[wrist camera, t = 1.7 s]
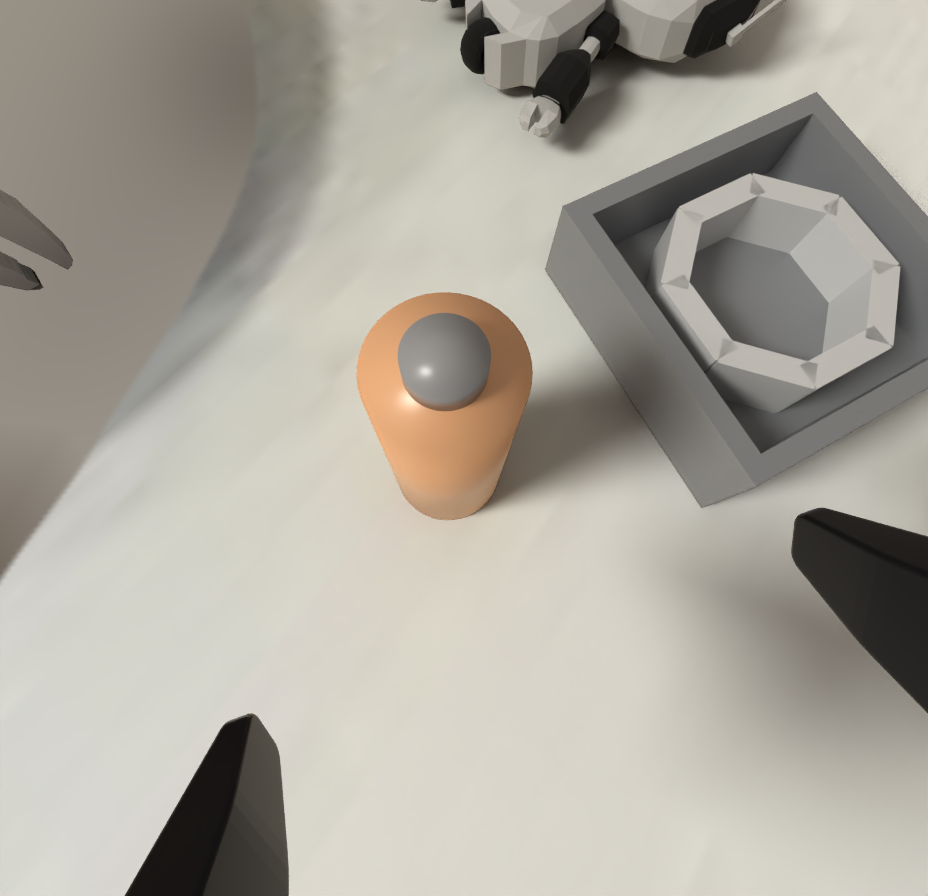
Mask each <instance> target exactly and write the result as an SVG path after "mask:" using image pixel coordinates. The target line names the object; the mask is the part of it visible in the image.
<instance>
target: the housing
mask: <svg viewBox="0 0 928 896" xmlns="http://www.w3.org/2000/svg"><path fill="white" fill-rule="evenodd" d="M545 270H546V272H547V273H548V275H549V276H550V278H551V280H552V281H553V283H554V284H555V286H556V287H557V289H558V290H559V292H560V293H561V295H562V296H563V298H564V299H565V301H566V302H567V304H568V305H569V307H570V308H571V310H572V312H573V313H574V315H575V316H576V318H577V319H578V321H579V322H580V324H581V325H582V327H583V328H584V330H585V331H586V333H587V334H588V336H589V337H590V339H591V340H592V342H593V343H594V345H595V347H596V348H597V350H598V351H599V353H600V354H601V356H602V357H603V359H604V360H605V362H606V363H607V365H608V366H609V368H610V369H611V371H612V372H613V374H614V375H615V377H616V379H617V380H618V382H619V383H620V385H621V386H622V388H623V389H624V391H625V392H626V394H627V395H628V397H629V398H630V400H631V401H632V403H633V404H634V406H635V407H636V409H637V410H638V412H639V414H640V415H641V417H642V418H643V420H644V421H645V423H646V424H647V426H648V427H649V429H650V430H651V432H652V433H653V435H654V436H655V438H656V439H657V441H658V442H659V444H660V446H661V447H662V449H663V450H664V452H665V453H666V455H667V456H668V458H669V459H670V461H671V462H672V464H673V465H674V467H675V468H676V470H677V471H678V473H679V474H680V476H681V478H682V479H683V481H684V482H685V484H686V485H687V487H688V488H689V490H690V491H691V493H692V494H693V496H694V497H695V499H696V500H697V502H698V503H699V505H700V506H701V508H702V507H705V506H708V505H710V504H713V503H715V502H718V501H720V500H723V499H725V498H728V497H731V496H733V495H736V494H738V493H741V492H743V491H746V490H748V489H751V488H754V487H756V486H758V485H760V484H761V483H763V482H765V481H767V480H768V479H770V478H772V477H773V476H775V475H777V474H779V473H780V472H782V471H784V470H786V469H787V468H789V467H791V466H793V465H794V464H796V463H798V462H800V461H801V460H803V459H805V458H807V457H808V456H810V455H812V454H813V453H815V452H817V451H819V450H820V449H822V448H824V447H826V446H827V445H829V444H831V443H833V442H834V441H836V440H838V439H840V438H841V437H843V436H845V435H847V434H848V433H850V432H852V431H853V430H855V429H857V428H859V427H860V426H862V425H864V424H866V423H867V422H869V421H871V420H873V419H874V418H876V417H878V416H880V415H881V414H883V413H885V412H887V411H888V410H890V409H892V408H893V407H895V406H897V405H899V404H900V403H902V402H904V401H906V400H907V399H909V398H911V397H913V396H914V395H916V394H918V393H920V392H921V391H923V390H925V389H927V388H928V216H927V215H926V214H925V213H924V212H923V211H922V210H921V209H920V207H919V206H918V205H917V204H916V203H915V202H914V201H913V200H912V198H911V197H910V196H909V195H908V194H907V193H906V192H905V191H904V189H903V188H902V187H901V186H900V185H899V184H898V183H897V182H896V181H895V179H894V178H893V177H892V176H891V175H890V174H889V173H888V172H887V170H886V169H885V168H884V167H883V166H882V165H881V164H880V163H879V161H878V160H877V159H876V158H875V157H874V156H873V155H872V154H871V152H870V151H869V150H868V149H867V148H866V147H865V146H864V145H863V144H862V142H861V141H860V140H859V139H858V138H857V137H856V136H855V135H854V133H853V132H852V131H851V130H850V129H849V128H848V127H847V126H846V124H845V123H844V122H843V121H842V120H841V119H840V118H839V117H838V115H837V114H836V113H835V112H834V111H833V110H832V109H831V108H830V107H829V105H828V104H827V103H826V102H825V101H824V100H823V99H822V98H821V96H820V95H819V94H818V93H817V92H816V93H813V94H811V95H809V96H807V97H804V98H802V99H800V100H798V101H796V102H793V103H791V104H789V105H787V106H784V107H782V108H780V109H778V110H776V111H773V112H771V113H769V114H767V115H764V116H762V117H760V118H758V119H756V120H753V121H751V122H749V123H747V124H744V125H742V126H740V127H738V128H736V129H733V130H731V131H729V132H727V133H724V134H722V135H720V136H718V137H716V138H713V139H711V140H709V141H707V142H704V143H702V144H700V145H698V146H696V147H693V148H691V149H689V150H687V151H684V152H682V153H680V154H678V155H676V156H673V157H671V158H669V159H667V160H664V161H662V162H660V163H658V164H656V165H653V166H651V167H649V168H647V169H645V170H642V171H640V172H638V173H636V174H633V175H631V176H629V177H627V178H625V179H622V180H620V181H618V182H616V183H613V184H611V185H609V186H607V187H605V188H602V189H600V190H598V191H596V192H593V193H591V194H589V195H587V196H585V197H582V198H580V199H578V200H576V201H573V202H571V203H569V204H567V205H565V206H563V207H562V211H561V214H560V218H559V222H558V225H557V229H556V232H555V236H554V239H553V243H552V247H551V250H550V254H549V257H548V261H547V264H546V268H545Z"/></svg>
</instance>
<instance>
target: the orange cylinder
mask: <svg viewBox="0 0 928 896" xmlns="http://www.w3.org/2000/svg"><path fill="white" fill-rule="evenodd" d="M532 374H533V372H532V361H531V357H530V352H529V350H528V347H527V344H526V342H525V340H524V338H523V336H522V334H521V333H520V331H519V330H518V328H517V327H516V326H515V324H514V323H513V322H512V321H511V320H510V319H509V318H508V317H507V316H506V315H505V314H503V313H502V312H501V311H500V310H499V309H497V308H495V307H494V306H492V305H491V304H489V303H487V302H485V301H483V300H480V299H478V298H475V297H472V296H468V295H464V294H459V293H432V294H425V295H421V296H418V297H414V298H412V299H409V300H407V301H404V302H403V303H401V304H399V305H397V306H395V307H394V308H392V309H391V310H390V311H388V312H387V313H386V314H385V315H383V316H382V317H381V318H380V319H379V320H378V321H377V323H376V324H375V325H374V326H373V327H372V329H371V330H370V332H369V333H368V335H367V336H366V338H365V341H364V343H363V345H362V347H361V350H360V354H359V357H358V363H357V384H358V390H359V393H360V397H361V400H362V402H363V405H364V407H365V409H366V411H367V414H368V416H369V418H370V421H371V423H372V425H373V427H374V430H375V432H376V434H377V436H378V439H379V441H380V443H381V445H382V448H383V450H384V452H385V455H386V457H387V459H388V461H389V464H390V466H391V468H392V470H393V473H394V475H395V477H396V479H397V482H398V484H399V486H400V489H401V491H402V493H403V495H404V496H405V498H406V499H407V501H408V502H409V503H410V504H411V505H412V506H413V507H414V508H415V509H416V510H418V511H419V512H421V513H423V514H424V515H426V516H429V517H432V518H435V519H440V520H455V519H460V518H464V517H467V516H469V515H471V514H473V513H475V512H476V511H478V510H479V509H480V508H482V507H483V506H484V505H485V504H486V503H487V502H488V500H489V499H490V497H491V496H492V494H493V492H494V490H495V488H496V485H497V482H498V479H499V477H500V474H501V471H502V468H503V466H504V463H505V460H506V458H507V455H508V452H509V449H510V447H511V444H512V441H513V438H514V436H515V433H516V430H517V427H518V425H519V422H520V419H521V417H522V414H523V411H524V408H525V406H526V403H527V400H528V397H529V395H530V390H531V385H532Z"/></svg>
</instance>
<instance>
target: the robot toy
mask: <svg viewBox="0 0 928 896" xmlns="http://www.w3.org/2000/svg"><path fill="white" fill-rule="evenodd" d="M421 1H428V2H436V1H437V0H421ZM785 1H786V0H774V1H773V2H772V3H771V4H769V5H768V6H767V7H765V8H764V9H763V10H761V11H760V12H759V13H758V14H756V15H755V16H754V17H753V15H754V13H755V11H756V9H757V7H758V5H759V3H760V0H451V6H452V8H456V7H464V6H465V9H466V31H465V33H464V36H463V38H462V41H461V48H460V51H461V55H462V59H463V62H464V64H465V65H466V66H467V67H468V68H469V69H470V70H471V71H472V72H474V73H477V74H485V83H486V84H488V85H490V86H492V87H495V88H497V89H499V90H502V89H507V88H512V87H517V86H522V85H524V86H530V87H531V88H533V89H534V91H533V99H531V100H528V101H527V102H526V103H525V105H524V106H523V108H522V111H521V113H520V116H519V121H520V124H521V126H522V128H523V129H524V130H526V131H529V129H530V128H531V127H532V125H533V124H534V123H535V122H538V123H537V124H536V126H535V132H534V135H536V136H538V137H544V138H546V137H547V136H548V135H550V134H551V133H552V132H553V131H554V130H555V129H556V128H557V127H558V126H559V125H560V123H563V124H564V123H565V121H566V120H567V118H568V117H569V116H570V114H571V113H572V111H573V110H574V109H575V107H576V106H577V104H578V103H579V102H580V100H581V99H582V97H583V95H584V93H585V91H586V89H587V87H588V85H589V79H590V70H591V62H592V61H593V59H600V60H603V59H604V58H605V57H606V55H607V54H608V52H609V51H610V50H611V48H612V47H613V46H614V44H615V43H617V44H618V45H620V46H622V47H624V48H625V49H627V50H629V51H630V52H632V53H634V54H636V55H638V56H640V57H642V58H645V59H651V60H658V61H665V62H671V63H675V62H677V61H679V60H681V59H683V58H684V57H686V56H690V57H692V58H696V57H698V56H700V55H703V54H705V53H707V52H710V51H713V50H715V49H717V48H719V47H721V46H723V45H724V44H726V43H727V44H728V45H729V47H732V46H733V45H734V44H736V43H737V42H738V41H739V40H741V39H742V38H743V34H744V33H745V32H746V31H747V30H748V29H750V28H751V27H752V26H754V25H755V24H756V23H758V22H759V21H760V20H761V19H763V18H764V17H765V16H767V15H768V14H769V13H771V12H772V11H773V10H774V9H776V8H777V7H778V6H780V5H781V4H782V3H783V2H785Z"/></svg>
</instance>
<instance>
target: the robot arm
mask: <svg viewBox="0 0 928 896" xmlns="http://www.w3.org/2000/svg"><path fill="white" fill-rule="evenodd" d="M791 553H792V558H793V560H794V562H795V564H796V566H797V567H798V568H799V570H800V571H801V572H802V573H803V575H804V576H805V577H806V578H807V580H808V581H809V582H810V583H811V584H812V586H813V587H814V588H815V589H816V591H817V592H818V593H819V594H820V596H821V597H822V598H823V599H824V600H825V602H826V603H827V604H828V605H829V607H830V608H831V609H832V610H833V612H834V613H835V614H836V615H837V616H838V618H839V619H840V620H841V621H842V623H843V624H844V625H845V626H846V628H847V629H848V630H849V631H850V632H851V634H852V635H853V636H854V637H855V638H856V639H857V640H858V642H859V643H860V644H861V645H862V646H863V647H864V648H865V649H866V650H867V651H868V652H869V654H870V655H871V656H872V657H873V658H874V659H875V660H876V661H877V662H878V663H879V664H880V665H881V666H882V667H883V668H884V669H885V670H886V671H887V672H888V673H889V674H890V675H891V676H892V677H893V678H894V679H895V680H896V681H897V682H898V683H899V684H900V685H901V686H902V687H903V688H904V689H905V690H906V691H907V693H908V694H909V695H910V696H911V697H912V698H913V699H914V700H915V701H916V702H917V703H918V704H919V705H920V706H921V707H922V708H923V709H924V710H925V711H926V712H927V713H928V536H924V535H920V534H917V533H913V532H910V531H906V530H902V529H899V528H895V527H892V526H888V525H884V524H881V523H877V522H874V521H870V520H867V519H863V518H859V517H856V516H852V515H849V514H845V513H841V512H838V511H834V510H831V509H827V508H816V509H813V510H811V511H808V512H805V513H802V514H800V515H798V516H797V518H796V519H795V522H794V531H793V540H792V549H791ZM125 896H289V867H288V851H287V838H286V826H285V814H284V802H283V790H282V777H281V765H280V756H279V751H278V748H277V746H276V743H275V742H274V740H273V739H272V737H271V736H270V734H269V733H268V731H267V730H266V728H265V727H264V725H263V724H262V722H261V721H260V719H259V718H258V717H257V716H256V715H255V714H252V713H251V714H247V715H244V716H241V717H238V718H236V719H233V720H230V721H228V722H227V723H225V724H224V725H223V727H222V728H221V729H220V731H219V733H218V735H217V736H216V738H215V740H214V742H213V743H212V745H211V747H210V748H209V750H208V752H207V754H206V755H205V757H204V759H203V761H202V762H201V764H200V766H199V768H198V769H197V771H196V773H195V774H194V776H193V778H192V780H191V781H190V783H189V785H188V787H187V788H186V790H185V792H184V794H183V795H182V797H181V799H180V801H179V802H178V804H177V806H176V807H175V809H174V811H173V813H172V814H171V816H170V818H169V820H168V821H167V823H166V825H165V827H164V828H163V830H162V832H161V833H160V835H159V837H158V839H157V840H156V842H155V844H154V846H153V847H152V849H151V851H150V853H149V854H148V856H147V858H146V860H145V861H144V863H143V865H142V866H141V868H140V870H139V872H138V873H137V875H136V877H135V879H134V880H133V882H132V884H131V886H130V887H129V889H128V891H127V893H126V894H125Z"/></svg>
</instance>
